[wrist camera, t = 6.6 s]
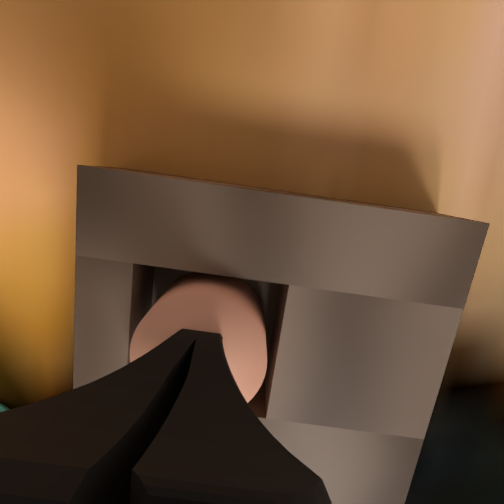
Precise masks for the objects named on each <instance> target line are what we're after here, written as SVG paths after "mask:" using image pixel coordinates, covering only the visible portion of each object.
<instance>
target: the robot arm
mask: <svg viewBox="0 0 504 504" xmlns="http://www.w3.org/2000/svg"><path fill="white" fill-rule="evenodd" d="M0 504H332V502H331V500H330V497H329V495H328V492H327V489H326V487H325V485H324V482H323V480H322V479H321V478H320V477H319V476H318V475H317V474H316V473H314V472H313V471H312V470H311V469H309V468H308V467H307V466H306V465H305V464H303V463H302V462H301V461H300V460H298V459H297V458H296V457H295V456H294V455H292V454H291V453H290V452H289V451H288V450H287V449H286V448H285V447H284V446H283V445H282V444H281V443H280V442H279V441H278V440H277V439H276V438H275V437H274V436H273V435H272V434H271V433H270V432H269V431H268V429H267V428H266V427H265V426H264V425H263V424H262V422H261V421H260V420H259V419H258V418H257V416H256V415H255V413H254V412H253V410H252V409H251V408H250V406H249V405H248V403H247V401H246V400H245V398H244V397H243V395H242V393H241V391H240V389H239V387H238V386H237V383H236V381H235V379H234V377H233V375H232V372H231V370H230V367H229V365H228V362H227V359H226V356H225V352H224V348H223V337H222V336H221V334H220V333H213V332H205V331H198V330H190V329H183V328H182V329H181V330H179V331H178V332H176V333H175V334H173V335H172V336H171V337H169V338H168V339H166V340H165V341H164V342H162V343H161V344H159V345H158V346H156V347H155V348H153V349H152V350H150V351H149V352H147V353H146V354H144V355H142V356H141V357H139V358H137V359H136V360H134V361H132V362H131V363H129V364H127V365H126V366H124V367H122V368H120V369H118V370H116V371H114V372H112V373H110V374H108V375H106V376H104V377H102V378H99V379H97V380H95V381H93V382H91V383H88V384H86V385H83V386H80V387H78V388H75V389H72V390H70V391H67V392H64V393H62V394H59V395H56V396H54V397H51V398H48V399H44V400H41V401H38V402H35V403H31V404H28V405H25V406H21V407H17V408H14V409H10V410H6V411H2V412H0Z"/></svg>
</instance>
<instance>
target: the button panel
mask: <svg viewBox="0 0 504 504" xmlns="http://www.w3.org/2000/svg"><path fill="white" fill-rule="evenodd" d="M488 227H489V223H484V222H479V221H474V220H469V219H464V218H459V217H454V216H449V215H444V214H439V213H432V212H425V211H418V210H411V209H404V208H397V207H389V206H382V205H375V204H368V203H361V202H354V201H347V200H340V199H333V198H326V197H319V196H312V195H305V194H298V193H291V192H284V191H277V190H270V189H263V188H256V187H249V186H242V185H235V184H228V183H221V182H214V181H207V180H200V179H193V178H186V177H179V176H172V175H165V174H158V173H151V172H144V171H137V170H130V169H123V168H113V167H99V166H85V165H77V209H76V262H75V315H74V369H73V389H75V388H78V387H80V386H83V385H86V384H88V383H91V382H93V381H95V380H97V379H99V378H102V377H104V376H106V375H108V374H110V373H112V372H114V371H116V370H118V369H120V368H122V367H124V366H126V365H127V364H129V363H130V344H131V340H132V337H133V334H134V332H135V330H136V328H137V326H138V324H139V323H140V321H141V320H142V319H143V318H144V316H145V315H146V314H147V313H148V311H149V310H150V309H151V308H152V307H153V305H154V304H155V303H156V302H157V300H158V299H159V298H160V297H161V296H162V294H163V293H164V292H165V291H166V289H167V288H168V287H169V286H170V285H171V284H172V283H173V282H175V281H176V280H177V279H179V278H180V277H182V276H184V275H186V274H189V273H192V272H200V273H207V274H214V275H221V276H228V277H236V278H239V279H241V280H242V281H244V282H245V283H246V284H247V285H249V286H250V287H251V289H252V290H253V291H254V292H255V293H256V295H257V296H258V298H259V300H260V302H261V304H262V307H263V310H264V315H265V328H266V347H267V369H266V374H265V378H264V380H263V383H262V385H261V387H260V388H259V390H258V392H257V393H256V394H255V396H254V397H253V398H252V399H251V400H250V401H249V402H248V405H249V406H250V408H251V409H252V410H253V412H254V413H255V415H256V416H257V418H258V419H259V420H260V421H261V422H262V424H263V425H264V426H265V427H266V428H267V429H268V431H269V432H270V433H271V434H272V435H273V436H274V437H275V438H276V439H277V440H278V441H279V442H280V443H281V444H282V445H283V446H284V447H285V448H286V449H287V450H288V451H289V452H290V453H291V454H292V455H294V456H295V457H296V458H297V459H298V460H300V461H301V462H302V463H303V464H305V465H306V466H307V467H308V468H309V469H311V470H312V471H313V472H314V473H316V474H317V475H318V476H319V477H320V478H321V479H322V480H323V482H324V485H325V487H326V489H327V492H328V495H329V497H330V500H331V502H332V504H405V500H406V497H407V494H408V490H409V487H410V484H411V481H412V477H413V474H414V471H415V467H416V464H417V461H418V458H419V454H420V451H421V448H422V444H423V441H424V438H425V434H426V431H427V428H428V425H429V421H430V418H431V415H432V411H433V408H434V405H435V402H436V398H437V395H438V392H439V388H440V385H441V382H442V379H443V375H444V372H445V369H446V365H447V362H448V359H449V356H450V352H451V349H452V346H453V342H454V339H455V336H456V332H457V329H458V326H459V323H460V319H461V316H462V313H463V309H464V306H465V303H466V300H467V296H468V293H469V290H470V286H471V283H472V280H473V277H474V273H475V270H476V267H477V263H478V260H479V257H480V253H481V250H482V247H483V244H484V240H485V237H486V234H487V230H488Z"/></svg>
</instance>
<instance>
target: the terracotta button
mask: <svg viewBox="0 0 504 504" xmlns="http://www.w3.org/2000/svg"><path fill="white" fill-rule="evenodd" d="M182 328H183V329H190V330H198V331H205V332H213V333H220V334H221V336H222V337H223V348H224V352H225V356H226V359H227V362H228V365H229V367H230V370H231V372H232V375H233V377H234V379H235V381H236V383H237V386H238V387H239V389H240V391H241V393H242V395H243V397H244V398H245V400H246V401H247V403H248V402H249V401H250V400H251V399H252V398H253V397H254V396H255V394H256V393H257V392H258V390H259V388H260V387H261V385H262V383H263V380H264V378H265V374H266V369H267V347H266V328H265V315H264V310H263V307H262V304H261V302H260V300H259V298H258V296H257V295H256V293H255V292H254V291H253V290H252V289H251V287H250V286H249V285H247V284H246V283H245V282H244V281H242V280H241V279H239V278H236V277H228V276H221V275H214V274H207V273H200V272H192V273H189V274H186V275H184V276H182V277H180V278H179V279H177V280H176V281H175V282H173V283H172V284H171V285H170V286H169V287H168V288H167V289H166V291H165V292H164V293H163V294H162V296H161V297H160V298H159V299H158V300H157V302H156V303H155V304H154V305H153V307H152V308H151V309H150V310H149V311H148V313H147V314H146V315H145V316H144V318H143V319H142V320H141V321H140V323H139V324H138V326H137V328H136V330H135V332H134V334H133V337H132V340H131V344H130V363H131V362H132V361H134V360H136V359H137V358H139V357H141V356H142V355H144V354H146V353H147V352H149V351H150V350H152V349H153V348H155V347H156V346H158V345H159V344H161V343H162V342H164V341H165V340H166V339H168V338H169V337H171V336H172V335H173V334H175V333H176V332H178V331H179V330H181V329H182Z"/></svg>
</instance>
